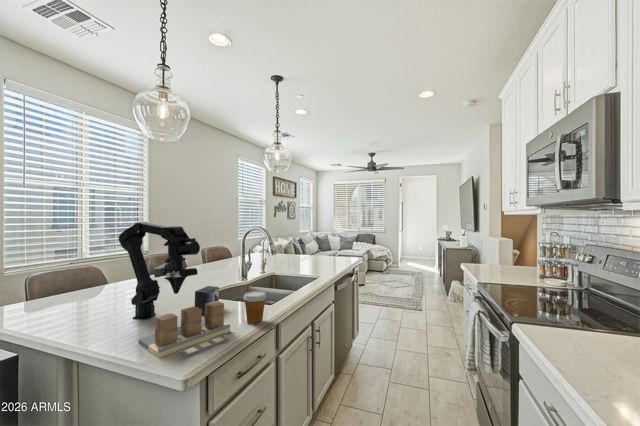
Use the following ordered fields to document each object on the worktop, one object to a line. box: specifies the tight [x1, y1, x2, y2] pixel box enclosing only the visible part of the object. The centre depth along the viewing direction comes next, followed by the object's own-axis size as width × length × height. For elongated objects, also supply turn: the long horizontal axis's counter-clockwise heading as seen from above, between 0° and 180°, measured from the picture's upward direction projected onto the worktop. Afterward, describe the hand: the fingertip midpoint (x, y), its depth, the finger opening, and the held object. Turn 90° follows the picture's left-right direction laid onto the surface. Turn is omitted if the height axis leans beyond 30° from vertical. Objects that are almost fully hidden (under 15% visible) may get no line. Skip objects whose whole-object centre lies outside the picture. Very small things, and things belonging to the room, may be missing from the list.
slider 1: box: [154, 312, 178, 348], centre depth 94 cm, size 5×5×9 cm
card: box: [178, 335, 230, 359], centre depth 96 cm, size 4×16×1 cm, turn 143°
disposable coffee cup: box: [242, 290, 267, 326], centre depth 119 cm, size 10×10×12 cm
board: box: [138, 318, 231, 358], centre depth 104 cm, size 16×26×3 cm, turn 143°
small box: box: [194, 285, 220, 316], centre depth 132 cm, size 11×6×10 cm, turn 168°
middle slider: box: [180, 305, 202, 338], centre depth 102 cm, size 5×5×9 cm
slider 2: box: [204, 301, 225, 330], centre depth 109 cm, size 5×5×9 cm
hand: (176, 293), depth 117 cm, fingers closed
